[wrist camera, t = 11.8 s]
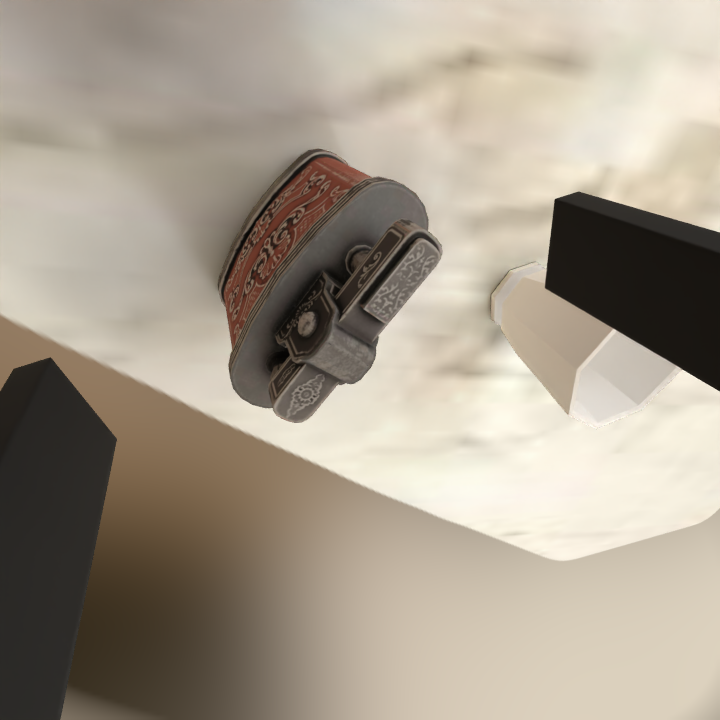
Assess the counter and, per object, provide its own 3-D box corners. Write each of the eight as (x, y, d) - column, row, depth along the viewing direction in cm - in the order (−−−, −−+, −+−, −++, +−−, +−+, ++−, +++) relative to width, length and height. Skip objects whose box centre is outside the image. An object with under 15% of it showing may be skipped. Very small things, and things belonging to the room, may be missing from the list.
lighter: (264, 323, 20) (311, 476, 12) (199, 288, 18) (205, 442, 10) (367, 184, 18) (502, 257, 10) (306, 128, 16) (416, 165, 8)
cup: (451, 291, 23) (552, 371, 16) (602, 177, 22) (769, 213, 16) (491, 366, 27) (583, 452, 21) (618, 273, 26) (755, 332, 20)
